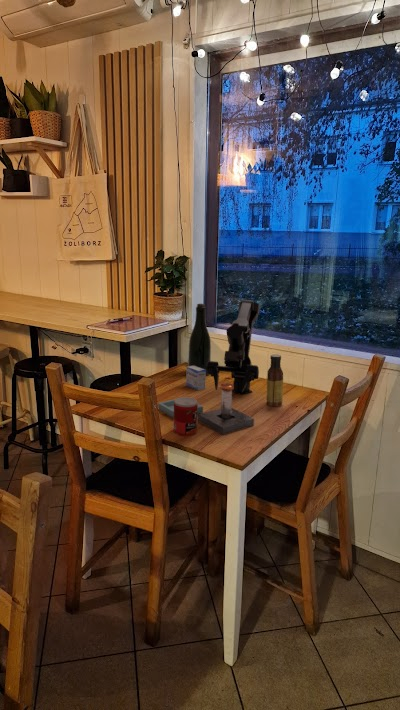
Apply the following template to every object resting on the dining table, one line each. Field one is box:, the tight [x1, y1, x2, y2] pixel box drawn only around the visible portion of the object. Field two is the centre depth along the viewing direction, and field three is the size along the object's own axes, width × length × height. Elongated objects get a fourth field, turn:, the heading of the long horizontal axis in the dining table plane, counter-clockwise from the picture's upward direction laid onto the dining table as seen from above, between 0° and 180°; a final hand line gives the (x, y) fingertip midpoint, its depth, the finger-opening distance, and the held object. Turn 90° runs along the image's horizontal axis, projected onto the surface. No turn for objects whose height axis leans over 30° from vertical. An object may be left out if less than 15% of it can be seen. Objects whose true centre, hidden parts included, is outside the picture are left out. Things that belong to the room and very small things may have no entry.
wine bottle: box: [187, 303, 212, 376], centre depth 219 cm, size 10×10×33 cm
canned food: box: [173, 396, 199, 437], centre depth 159 cm, size 8×8×11 cm
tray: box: [157, 398, 204, 419], centre depth 177 cm, size 12×12×2 cm
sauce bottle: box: [266, 353, 284, 407], centre depth 185 cm, size 7×6×20 cm
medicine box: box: [185, 366, 207, 391], centre depth 204 cm, size 8×4×9 cm, turn 42°
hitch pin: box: [219, 382, 234, 420], centre depth 166 cm, size 5×5×14 cm
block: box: [197, 407, 255, 435], centre depth 168 cm, size 14×14×2 cm
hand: (228, 390), depth 168 cm, fingers open, 9 cm apart
